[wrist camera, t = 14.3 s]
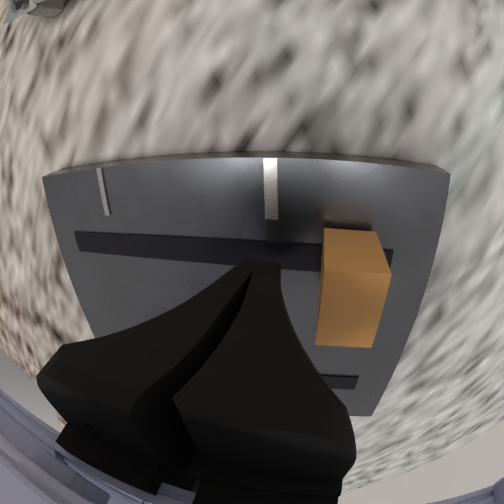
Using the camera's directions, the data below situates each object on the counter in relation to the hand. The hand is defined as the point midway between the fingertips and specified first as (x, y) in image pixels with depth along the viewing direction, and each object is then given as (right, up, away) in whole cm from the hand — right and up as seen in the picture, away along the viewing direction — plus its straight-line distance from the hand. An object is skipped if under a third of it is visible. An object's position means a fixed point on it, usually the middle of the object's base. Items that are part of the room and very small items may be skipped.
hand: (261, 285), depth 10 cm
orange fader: (+3, +1, +1) cm, 4 cm away
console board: (-2, -2, +6) cm, 6 cm away
